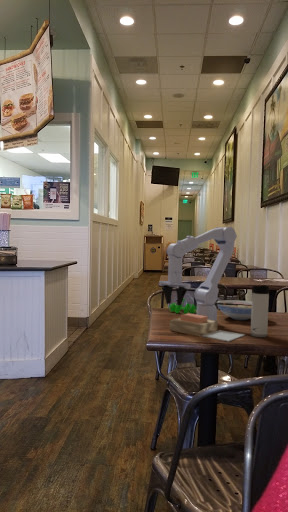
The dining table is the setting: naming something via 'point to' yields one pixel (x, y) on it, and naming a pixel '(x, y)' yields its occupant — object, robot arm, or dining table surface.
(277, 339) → the dining table surface
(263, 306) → the travel mug
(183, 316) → the terracotta brown block
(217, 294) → the robot arm
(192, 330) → the board
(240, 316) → the ramen bowl
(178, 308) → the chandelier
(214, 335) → the mat
